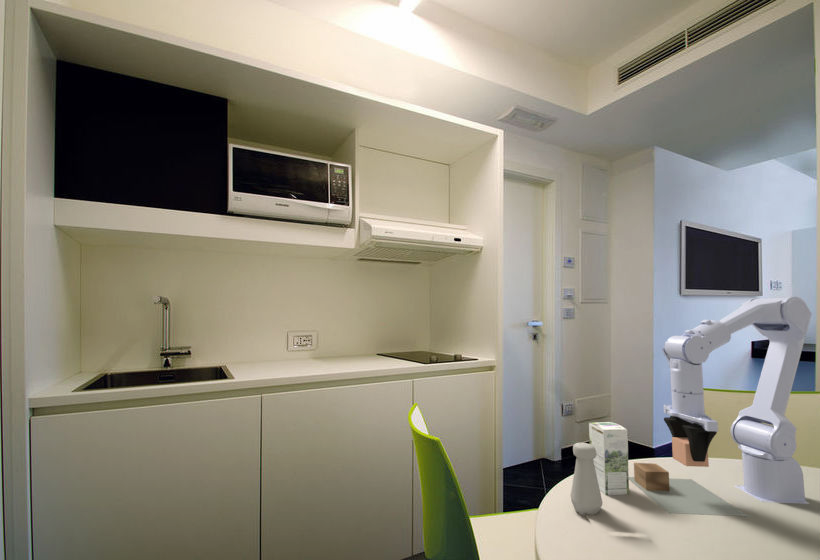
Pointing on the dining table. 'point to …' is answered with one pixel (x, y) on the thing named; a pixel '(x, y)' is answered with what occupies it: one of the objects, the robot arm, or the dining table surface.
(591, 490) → the salt shaker
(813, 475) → the dining table surface
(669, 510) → the slate board
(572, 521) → the dining table surface
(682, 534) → the dining table surface
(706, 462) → the terracotta cube
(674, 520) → the dining table surface
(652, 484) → the walnut block
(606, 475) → the syrup box
